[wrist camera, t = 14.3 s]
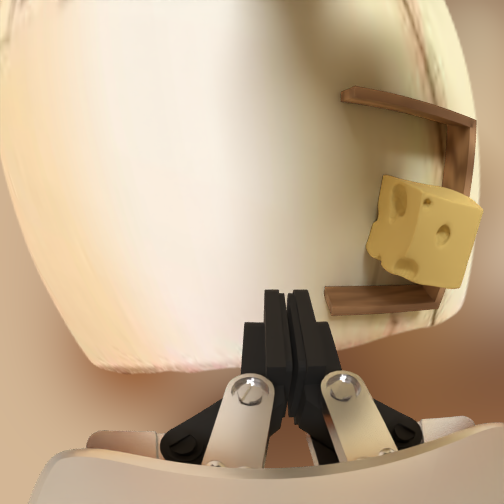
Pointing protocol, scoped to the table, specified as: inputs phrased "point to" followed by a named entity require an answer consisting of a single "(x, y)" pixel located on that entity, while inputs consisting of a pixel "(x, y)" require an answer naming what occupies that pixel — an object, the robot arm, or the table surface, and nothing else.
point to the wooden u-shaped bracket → (454, 178)
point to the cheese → (424, 232)
